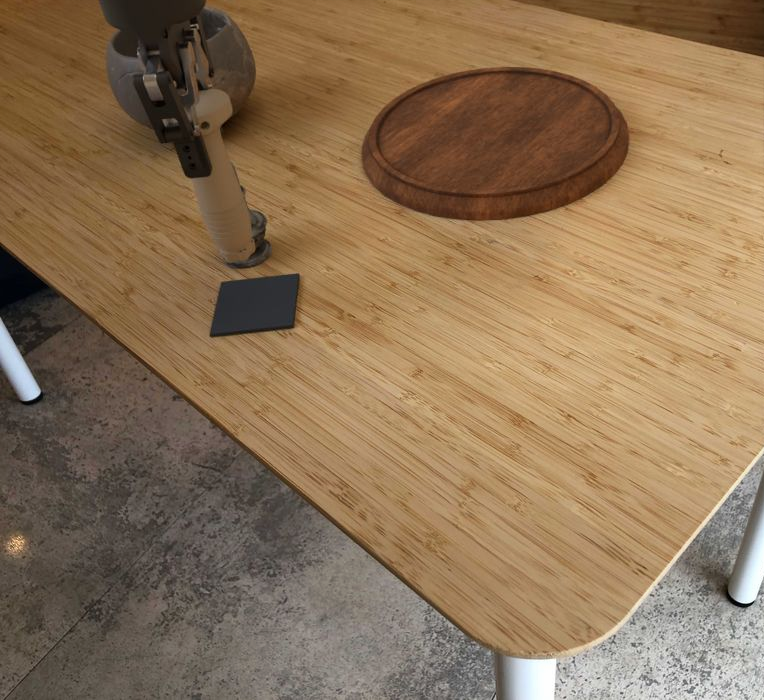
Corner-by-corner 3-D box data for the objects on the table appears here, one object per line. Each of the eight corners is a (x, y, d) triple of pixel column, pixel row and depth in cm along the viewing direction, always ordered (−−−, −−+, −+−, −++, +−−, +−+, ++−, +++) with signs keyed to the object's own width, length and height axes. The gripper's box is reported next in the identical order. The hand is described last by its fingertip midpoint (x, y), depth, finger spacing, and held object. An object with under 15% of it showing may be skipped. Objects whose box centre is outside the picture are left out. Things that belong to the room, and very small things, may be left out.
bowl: (293, 100, 115) (270, 6, 106) (208, 167, 104) (174, 69, 95) (193, 82, 122) (164, -8, 113) (103, 143, 111) (63, 49, 102)
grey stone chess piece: (281, 236, 92) (253, 137, 84) (264, 271, 88) (233, 170, 79) (230, 236, 93) (197, 137, 84) (211, 269, 89) (174, 169, 80)
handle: (281, 251, 79) (238, 102, 69) (218, 281, 76) (164, 131, 66) (258, 229, 82) (213, 83, 72) (196, 257, 79) (141, 110, 69)
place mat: (210, 337, 81) (209, 334, 80) (222, 284, 87) (221, 281, 86) (293, 328, 81) (293, 324, 80) (299, 275, 86) (299, 272, 86)
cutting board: (674, 111, 104) (675, 92, 102) (540, 252, 86) (540, 231, 84) (460, 63, 119) (458, 46, 117) (307, 175, 101) (303, 156, 99)
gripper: (108, -79, 66) (177, 120, 77) (55, -9, 55) (144, 208, 67) (204, -89, 66) (258, 111, 77) (169, -22, 55) (239, 198, 67)
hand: (205, 155), depth 72 cm, fingers closed on handle, 5 cm apart
